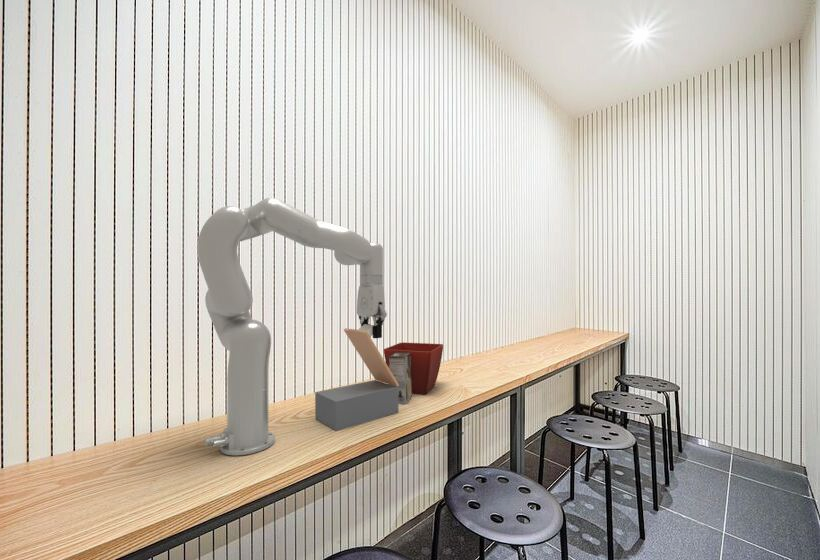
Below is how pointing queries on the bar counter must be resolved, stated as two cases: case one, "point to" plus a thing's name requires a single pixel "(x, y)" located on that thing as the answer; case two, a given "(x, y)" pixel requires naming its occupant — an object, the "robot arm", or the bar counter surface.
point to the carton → (355, 404)
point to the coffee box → (402, 375)
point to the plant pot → (420, 363)
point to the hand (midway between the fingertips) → (371, 336)
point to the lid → (370, 354)
